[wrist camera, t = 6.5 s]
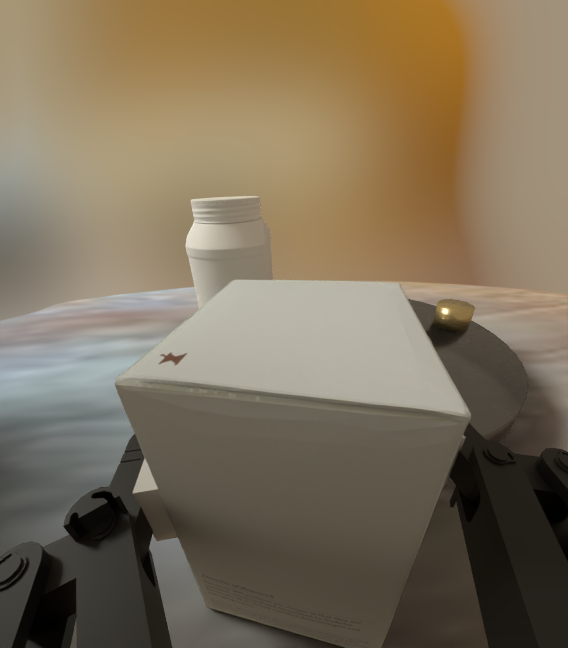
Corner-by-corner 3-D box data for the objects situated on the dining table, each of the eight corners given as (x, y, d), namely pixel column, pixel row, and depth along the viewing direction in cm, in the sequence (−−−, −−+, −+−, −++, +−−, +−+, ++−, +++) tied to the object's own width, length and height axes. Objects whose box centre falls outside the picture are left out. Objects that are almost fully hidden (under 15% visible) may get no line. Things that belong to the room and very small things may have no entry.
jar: (267, 330, 34) (257, 198, 27) (193, 329, 34) (165, 202, 27) (276, 296, 44) (270, 194, 37) (219, 296, 45) (203, 197, 38)
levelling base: (206, 437, 19) (191, 377, 17) (287, 311, 38) (286, 274, 35) (587, 529, 14) (652, 458, 11) (463, 327, 32) (476, 284, 30)
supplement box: (382, 666, 10) (492, 428, 4) (202, 610, 11) (93, 377, 6) (369, 477, 16) (405, 278, 10) (254, 457, 18) (229, 273, 12)
